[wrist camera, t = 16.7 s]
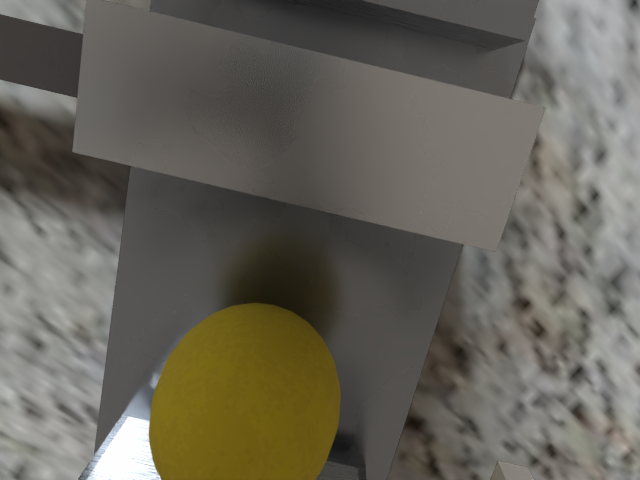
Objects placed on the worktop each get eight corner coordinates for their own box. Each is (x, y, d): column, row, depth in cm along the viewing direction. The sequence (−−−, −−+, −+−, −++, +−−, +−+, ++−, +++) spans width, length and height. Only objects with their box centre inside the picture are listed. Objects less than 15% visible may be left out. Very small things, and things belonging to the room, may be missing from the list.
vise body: (173, -63, 17) (-13, -239, 8) (522, 23, 17) (717, -54, 8) (104, 456, 23) (-49, 688, 14) (366, 514, 23) (382, 779, 14)
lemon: (182, 280, 19) (71, 408, 11) (329, 262, 18) (321, 381, 11) (212, 409, 20) (132, 601, 13) (349, 395, 20) (355, 584, 12)
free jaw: (-162, -49, 16) (-525, -153, 9) (462, 102, 17) (545, 107, 10) (-159, 50, 17) (-491, 19, 10) (435, 191, 17) (496, 251, 11)
